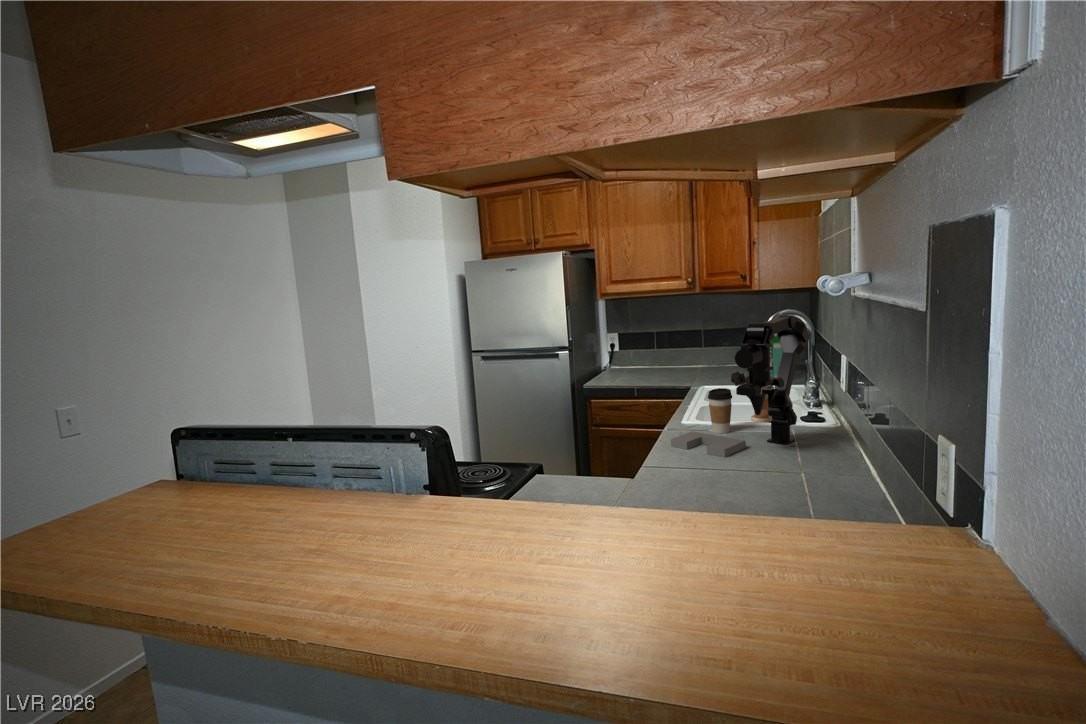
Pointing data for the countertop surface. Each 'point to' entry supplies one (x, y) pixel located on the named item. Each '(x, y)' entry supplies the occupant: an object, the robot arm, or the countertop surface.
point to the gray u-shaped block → (709, 443)
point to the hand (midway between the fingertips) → (761, 413)
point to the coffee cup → (720, 409)
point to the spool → (762, 413)
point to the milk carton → (775, 355)
